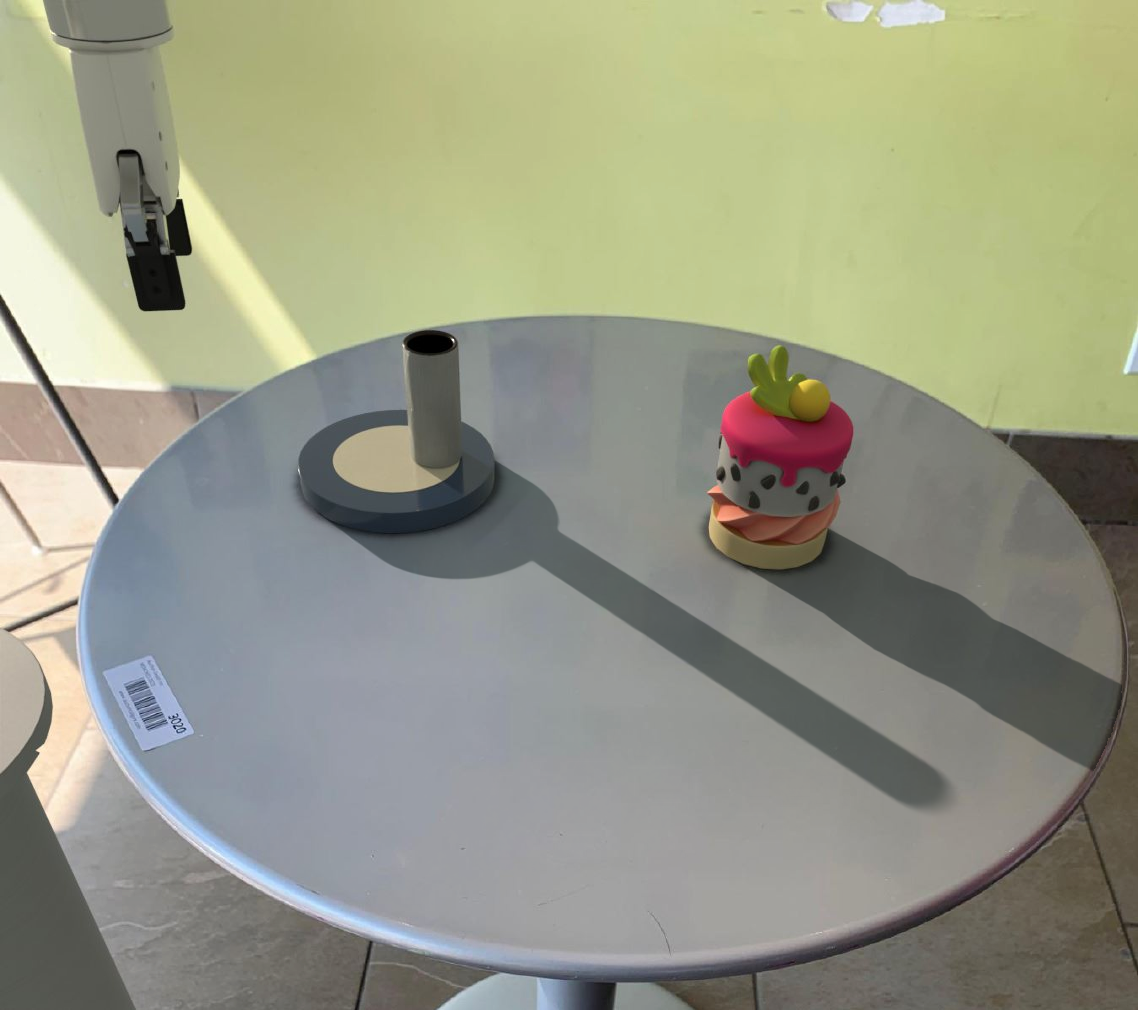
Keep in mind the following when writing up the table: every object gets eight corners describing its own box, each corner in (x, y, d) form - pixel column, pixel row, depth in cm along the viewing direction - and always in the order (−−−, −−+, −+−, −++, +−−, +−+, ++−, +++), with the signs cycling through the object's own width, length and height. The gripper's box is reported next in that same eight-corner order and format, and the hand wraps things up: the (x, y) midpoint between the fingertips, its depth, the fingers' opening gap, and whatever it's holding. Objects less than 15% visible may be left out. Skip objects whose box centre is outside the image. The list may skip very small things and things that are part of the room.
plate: (303, 541, 91) (299, 520, 90) (298, 435, 103) (295, 415, 101) (507, 525, 94) (507, 504, 92) (480, 423, 105) (480, 403, 104)
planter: (472, 450, 98) (468, 337, 91) (445, 474, 95) (439, 359, 88) (428, 436, 99) (421, 324, 92) (400, 459, 97) (391, 346, 89)
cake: (845, 523, 96) (887, 357, 85) (802, 587, 89) (841, 416, 78) (733, 488, 99) (760, 324, 88) (684, 546, 93) (706, 377, 82)
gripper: (63, -21, 76) (125, 237, 88) (25, 47, 64) (103, 335, 76) (177, -21, 77) (222, 235, 89) (160, 46, 65) (215, 330, 77)
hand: (167, 280), depth 83 cm, fingers open, 9 cm apart
